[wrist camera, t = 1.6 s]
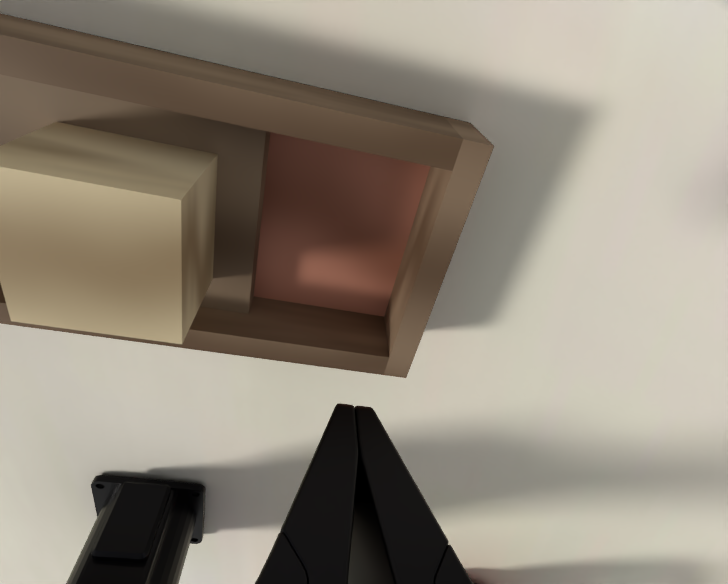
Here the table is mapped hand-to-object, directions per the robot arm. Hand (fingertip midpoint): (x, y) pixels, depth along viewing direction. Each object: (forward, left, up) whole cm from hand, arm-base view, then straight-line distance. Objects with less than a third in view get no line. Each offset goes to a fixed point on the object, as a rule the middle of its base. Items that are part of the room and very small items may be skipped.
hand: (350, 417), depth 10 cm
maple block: (0, +7, -8) cm, 11 cm away
